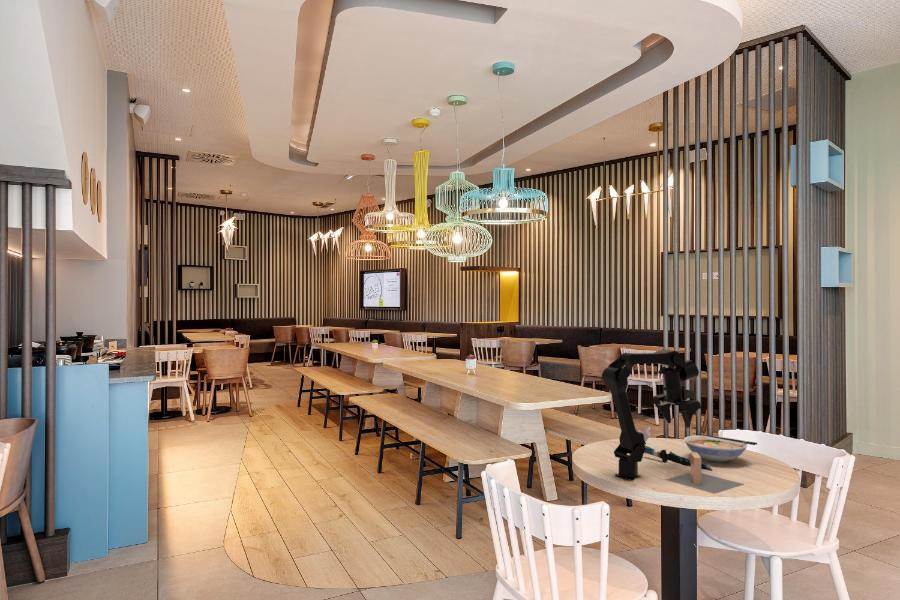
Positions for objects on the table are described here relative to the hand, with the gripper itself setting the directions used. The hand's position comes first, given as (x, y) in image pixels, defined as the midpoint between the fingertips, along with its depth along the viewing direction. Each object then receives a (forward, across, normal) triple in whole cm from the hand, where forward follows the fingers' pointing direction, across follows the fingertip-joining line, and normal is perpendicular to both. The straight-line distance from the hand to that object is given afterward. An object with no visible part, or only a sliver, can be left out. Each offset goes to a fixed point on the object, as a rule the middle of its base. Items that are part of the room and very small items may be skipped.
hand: (678, 425), depth 209 cm
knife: (+18, +8, -2) cm, 19 cm away
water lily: (+18, +29, -3) cm, 34 cm away
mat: (+16, -15, +6) cm, 23 cm away
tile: (+15, -14, +8) cm, 22 cm away
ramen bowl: (+21, +6, -21) cm, 31 cm away
